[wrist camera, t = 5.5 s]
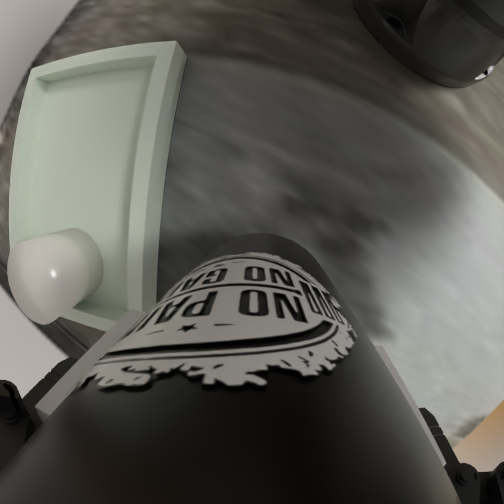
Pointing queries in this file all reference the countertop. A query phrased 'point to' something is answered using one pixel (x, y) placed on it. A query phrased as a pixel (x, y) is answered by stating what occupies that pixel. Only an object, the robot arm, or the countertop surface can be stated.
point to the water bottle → (235, 401)
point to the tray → (99, 165)
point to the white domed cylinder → (54, 273)
